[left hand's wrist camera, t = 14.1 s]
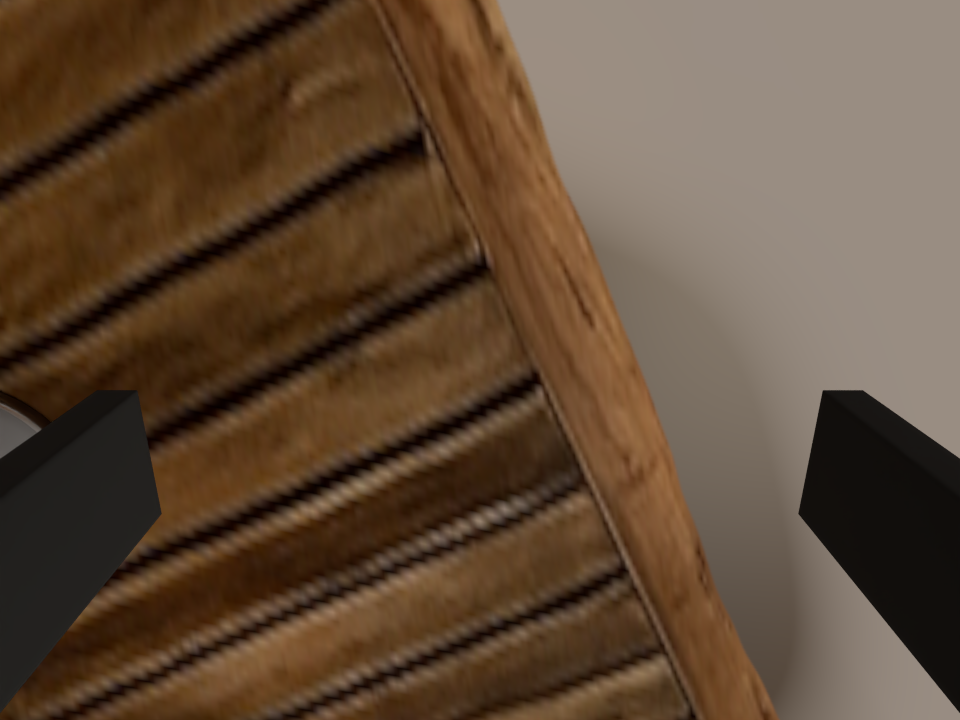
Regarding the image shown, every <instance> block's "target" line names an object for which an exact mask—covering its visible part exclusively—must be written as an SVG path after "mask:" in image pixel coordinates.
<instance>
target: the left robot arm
mask: <svg viewBox="0 0 960 720" xmlns="http://www.w3.org/2000/svg"><path fill="white" fill-rule="evenodd" d="M161 514H162V513H161V508H160V503H159V498H158V493H157V488H156V483H155V478H154V473H153V468H152V463H151V458H150V453H149V448H148V443H147V438H146V433H145V428H144V423H143V418H142V412H141V407H140V402H139V397H138V392H137V390H97V391H96V392H94V393H93V394H91V395H90V396H88V397H87V398H86V399H84V400H83V401H81V402H80V403H79V404H77V405H76V406H74V407H73V408H71V409H70V410H69V411H67V412H66V413H64V414H63V415H61V416H60V417H59V418H57V419H56V420H54V421H53V422H52V423H51V422H50V421H48V420H47V419H46V418H45V417H43V416H42V415H41V414H39V413H38V412H37V411H35V410H34V409H32V408H31V407H29V406H27V405H26V404H24V403H22V402H20V401H18V400H16V399H14V398H12V397H10V396H8V395H5V394H3V393H0V712H1V711H2V710H3V709H4V708H5V706H6V705H7V704H8V703H9V701H10V700H11V699H12V698H13V696H14V695H15V694H16V693H17V692H18V690H19V689H20V688H21V687H22V685H23V684H24V683H25V682H26V680H27V679H28V678H29V677H30V675H31V674H32V673H33V672H34V671H35V669H36V668H37V667H38V666H39V664H40V663H41V662H42V661H43V659H44V658H45V657H46V656H47V655H48V653H49V652H50V651H51V650H52V648H53V647H54V646H55V645H56V643H57V642H58V641H59V640H60V638H61V637H62V636H63V635H64V634H65V632H66V631H67V630H68V629H69V627H70V626H71V625H72V624H73V622H74V621H75V620H76V619H77V618H78V616H79V615H80V614H81V613H82V611H83V610H84V609H85V608H86V606H87V605H88V604H89V603H90V601H91V600H92V599H93V598H94V597H95V595H96V594H97V593H98V592H99V590H100V589H101V588H102V587H103V585H104V584H105V583H106V582H107V580H108V579H109V578H110V577H111V576H112V574H113V573H114V572H115V571H116V569H117V568H118V567H119V566H120V564H121V563H122V562H123V561H124V560H125V558H126V557H127V556H128V555H129V553H130V552H131V551H132V550H133V548H134V547H135V546H136V545H137V543H138V542H139V541H140V540H141V539H142V537H143V536H144V535H145V534H146V532H147V531H148V530H149V529H150V527H151V526H152V525H153V524H154V523H155V521H156V520H157V519H158V518H159V516H160V515H161ZM799 515H800V516H801V517H802V519H803V520H804V521H805V523H806V524H807V525H808V526H809V527H810V529H811V530H812V531H813V532H814V534H815V535H816V536H817V537H818V539H819V540H820V541H821V542H822V543H823V545H824V546H825V547H826V548H827V550H828V551H829V552H830V553H831V555H832V556H833V557H834V558H835V559H836V561H837V562H838V563H839V564H840V566H841V567H842V568H843V569H844V571H845V572H846V573H847V574H848V576H849V577H850V578H851V579H852V580H853V582H854V583H855V584H856V585H857V587H858V588H859V589H860V590H861V592H862V593H863V594H864V595H865V597H866V598H867V599H868V600H869V601H870V603H871V604H872V605H873V606H874V608H875V609H876V610H877V611H878V613H879V614H880V615H881V616H882V618H883V619H884V620H885V621H886V622H887V624H888V625H889V626H890V627H891V629H892V630H893V631H894V632H895V634H896V635H897V636H898V637H899V638H900V640H901V641H902V642H903V643H904V645H905V646H906V647H907V648H908V650H909V651H910V652H911V653H912V655H913V656H914V657H915V658H916V659H917V661H918V662H919V663H920V664H921V666H922V667H923V668H924V669H925V671H926V672H927V673H928V674H929V675H930V677H931V678H932V679H933V680H934V682H935V683H936V684H937V685H938V687H939V688H940V689H941V690H942V692H943V693H944V694H945V695H946V696H947V698H948V699H949V700H950V701H951V703H952V704H953V705H954V706H955V708H956V709H957V710H958V711H959V712H960V458H958V457H957V456H955V455H954V454H952V453H951V452H950V451H948V450H947V449H945V448H944V447H943V446H941V445H940V444H938V443H937V442H935V441H934V440H933V439H931V438H930V437H928V436H927V435H926V434H924V433H923V432H921V431H920V430H918V429H917V428H916V427H914V426H913V425H911V424H910V423H908V422H907V421H906V420H904V419H903V418H901V417H900V416H899V415H897V414H896V413H894V412H893V411H891V410H890V409H889V408H887V407H886V406H884V405H883V404H881V403H880V402H879V401H877V400H876V399H874V398H873V397H871V396H870V395H869V394H867V393H866V392H864V391H863V390H823V392H822V398H821V402H820V407H819V413H818V418H817V423H816V428H815V433H814V438H813V443H812V448H811V453H810V458H809V463H808V468H807V473H806V478H805V483H804V488H803V493H802V498H801V504H800V508H799Z"/></svg>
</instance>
